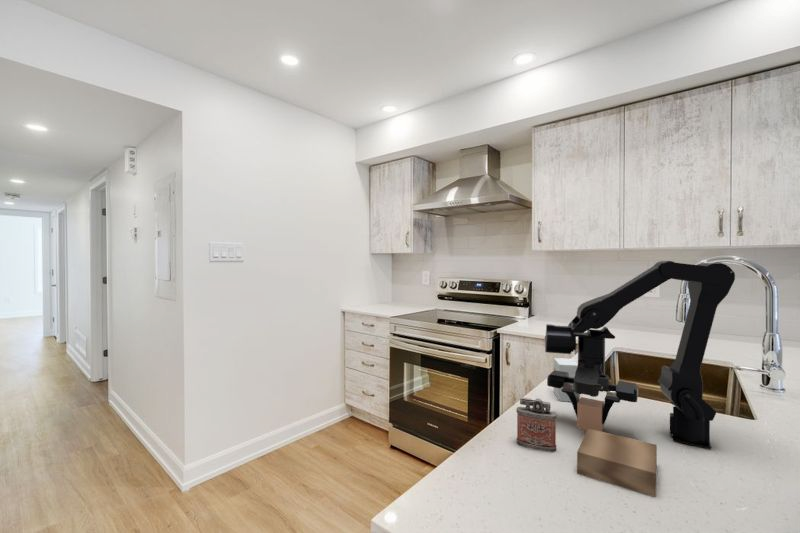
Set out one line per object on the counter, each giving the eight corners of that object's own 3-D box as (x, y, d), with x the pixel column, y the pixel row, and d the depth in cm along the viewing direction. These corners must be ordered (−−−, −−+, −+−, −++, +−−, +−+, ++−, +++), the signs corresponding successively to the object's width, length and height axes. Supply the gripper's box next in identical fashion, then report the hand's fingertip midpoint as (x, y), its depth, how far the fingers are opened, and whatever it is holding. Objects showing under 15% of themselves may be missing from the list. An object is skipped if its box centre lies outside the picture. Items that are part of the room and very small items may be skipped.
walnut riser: (656, 465, 71) (656, 444, 71) (655, 497, 61) (655, 473, 61) (587, 447, 78) (587, 428, 78) (577, 473, 68) (577, 451, 68)
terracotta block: (603, 426, 88) (604, 401, 88) (601, 434, 84) (601, 408, 84) (581, 421, 91) (581, 396, 91) (577, 428, 87) (577, 403, 87)
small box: (580, 403, 103) (580, 365, 103) (558, 401, 104) (559, 364, 104) (572, 393, 111) (573, 358, 111) (553, 391, 112) (553, 357, 112)
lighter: (556, 446, 78) (557, 399, 78) (556, 453, 75) (556, 405, 75) (517, 438, 82) (517, 393, 82) (515, 445, 79) (515, 399, 79)
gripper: (541, 356, 86) (541, 422, 86) (635, 370, 76) (635, 445, 76) (552, 347, 95) (552, 407, 96) (638, 358, 85) (638, 426, 85)
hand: (590, 420), depth 88 cm, fingers closed on terracotta block, 5 cm apart
